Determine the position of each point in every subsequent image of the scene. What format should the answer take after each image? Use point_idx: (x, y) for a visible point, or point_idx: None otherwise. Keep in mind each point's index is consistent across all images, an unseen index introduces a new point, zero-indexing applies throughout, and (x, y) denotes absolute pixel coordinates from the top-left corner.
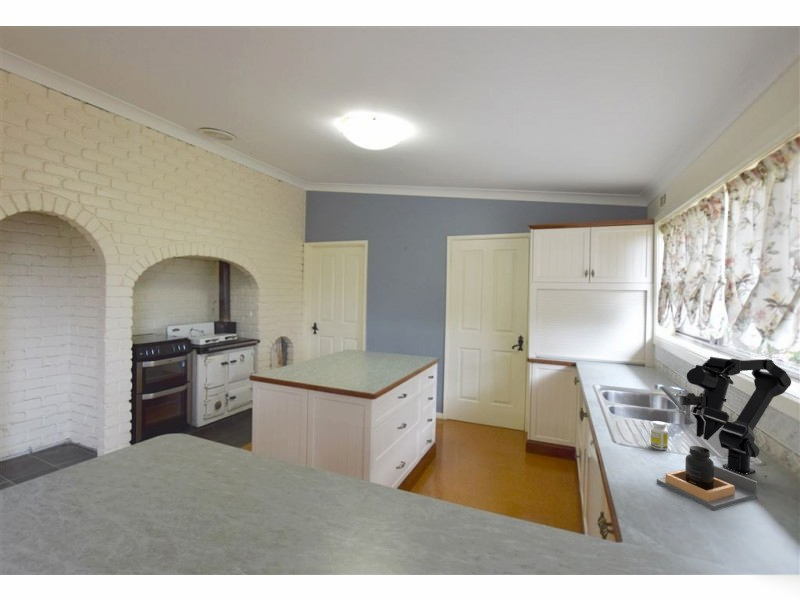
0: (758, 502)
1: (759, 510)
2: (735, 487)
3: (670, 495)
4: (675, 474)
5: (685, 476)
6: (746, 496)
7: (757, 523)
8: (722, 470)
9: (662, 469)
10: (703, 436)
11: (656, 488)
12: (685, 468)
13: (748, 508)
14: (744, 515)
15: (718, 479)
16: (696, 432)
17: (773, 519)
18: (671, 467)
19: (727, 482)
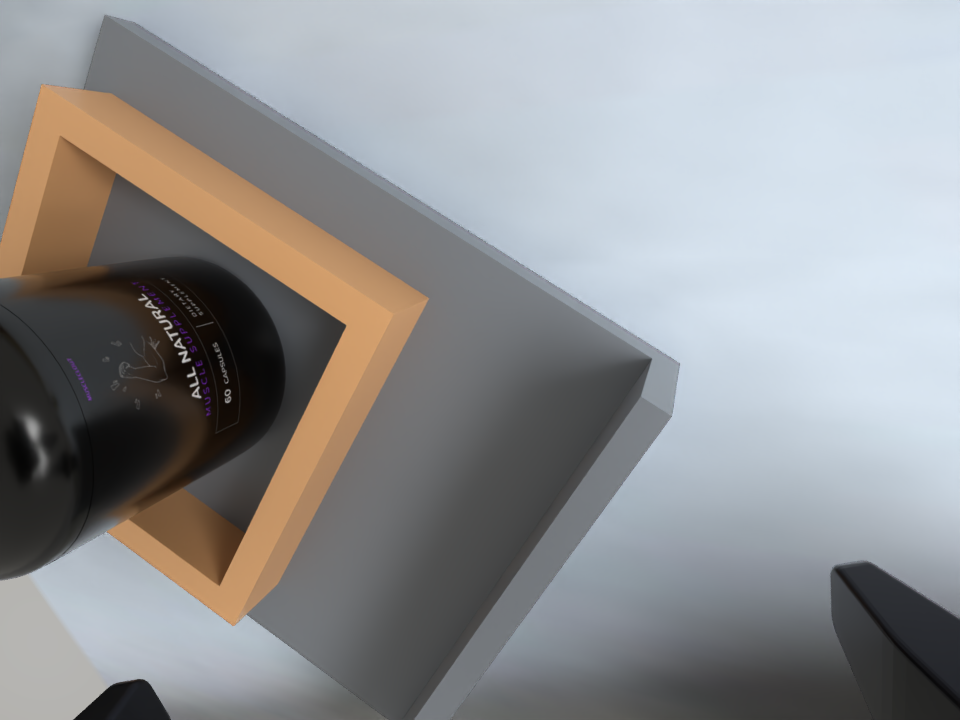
0: (347, 697)
1: (226, 666)
2: (420, 621)
3: (9, 156)
4: (126, 172)
5: (114, 263)
6: (301, 653)
7: (55, 609)
8: (488, 611)
9: (511, 8)
10: (107, 711)
11: (37, 42)
12: (40, 273)
13: (205, 613)
14: (94, 568)
15: (273, 530)
16: (920, 612)
17: (165, 702)
18: (654, 90)
19: (490, 584)
